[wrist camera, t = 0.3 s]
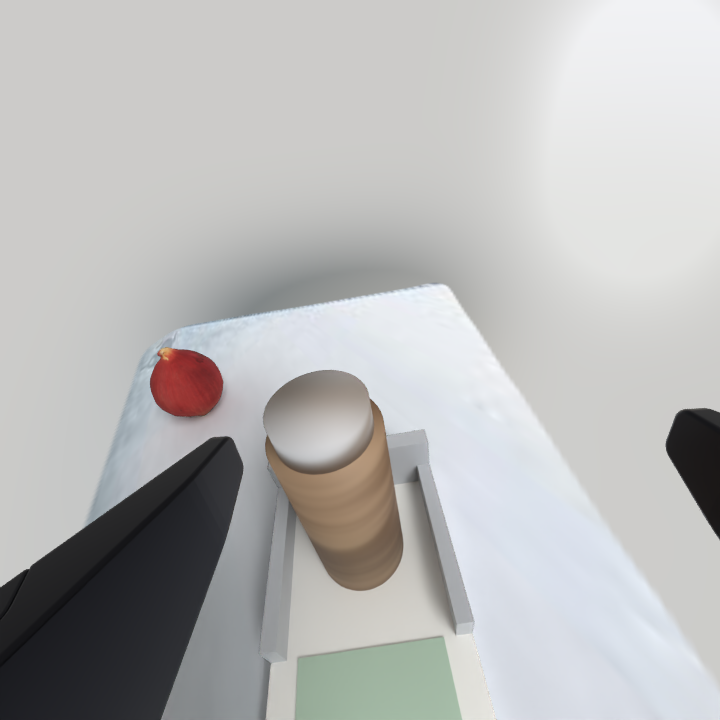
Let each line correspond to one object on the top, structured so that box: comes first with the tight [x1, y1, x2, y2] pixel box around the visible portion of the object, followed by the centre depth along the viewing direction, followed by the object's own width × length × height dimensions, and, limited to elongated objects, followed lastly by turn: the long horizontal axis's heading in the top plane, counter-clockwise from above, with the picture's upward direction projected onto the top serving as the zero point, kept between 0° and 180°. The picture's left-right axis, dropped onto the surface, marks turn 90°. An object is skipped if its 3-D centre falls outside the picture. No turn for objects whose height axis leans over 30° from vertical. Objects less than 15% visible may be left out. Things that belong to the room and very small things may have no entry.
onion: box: [150, 347, 223, 417], centre depth 31 cm, size 6×6×8 cm
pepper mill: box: [263, 370, 404, 591], centre depth 17 cm, size 5×5×12 cm
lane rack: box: [259, 429, 496, 720], centre depth 17 cm, size 17×10×5 cm, turn 5°
